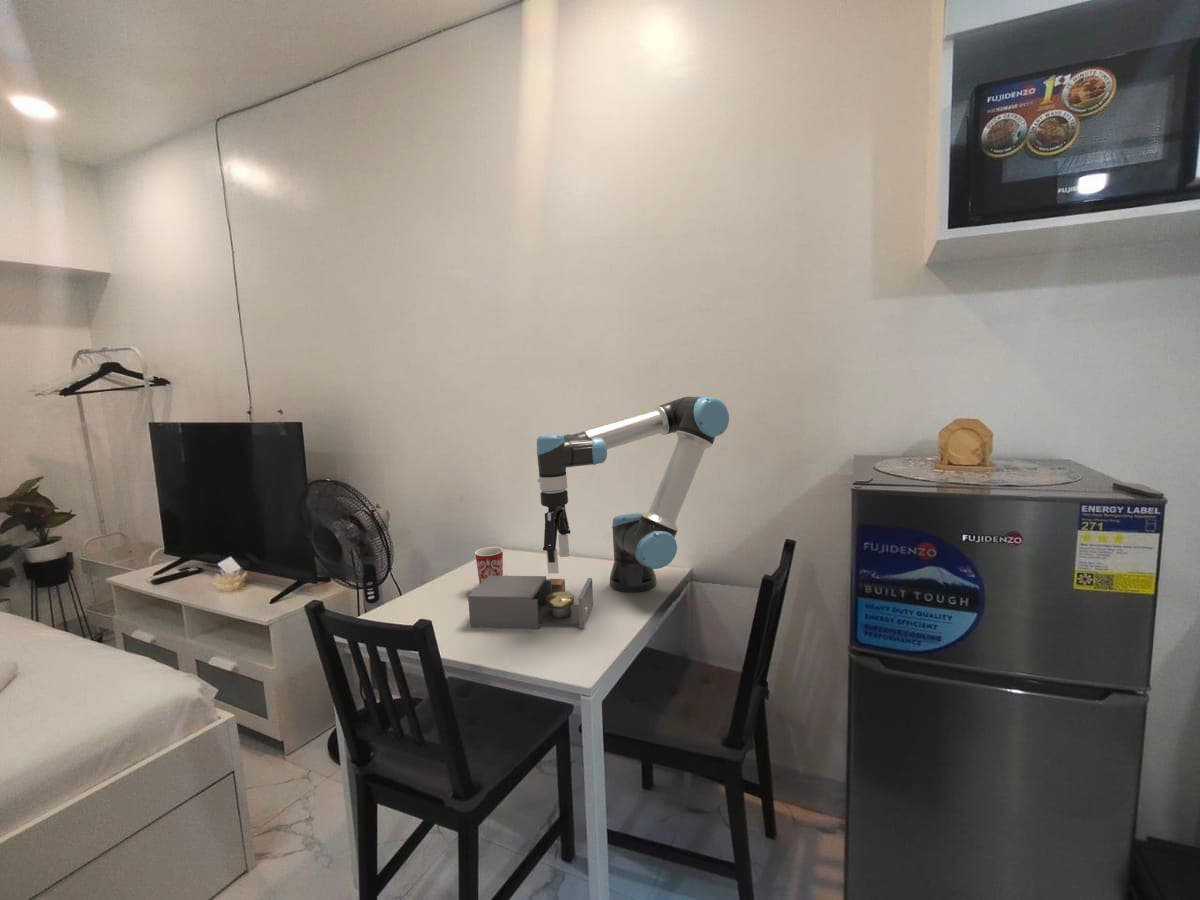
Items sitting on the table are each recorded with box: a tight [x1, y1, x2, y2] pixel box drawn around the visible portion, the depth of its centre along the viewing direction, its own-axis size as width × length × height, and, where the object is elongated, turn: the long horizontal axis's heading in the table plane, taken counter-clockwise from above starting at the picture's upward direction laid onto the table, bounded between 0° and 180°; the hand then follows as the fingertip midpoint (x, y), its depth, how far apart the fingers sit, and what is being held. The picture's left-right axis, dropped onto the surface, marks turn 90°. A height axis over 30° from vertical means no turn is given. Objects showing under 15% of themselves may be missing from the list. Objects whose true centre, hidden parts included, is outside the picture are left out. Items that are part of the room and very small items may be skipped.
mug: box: [474, 546, 504, 585], centre depth 175 cm, size 13×9×14 cm
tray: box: [538, 577, 594, 630], centre depth 152 cm, size 20×15×8 cm
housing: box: [467, 575, 552, 630], centre depth 154 cm, size 20×16×9 cm
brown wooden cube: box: [550, 578, 566, 593], centre depth 166 cm, size 5×5×5 cm
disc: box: [546, 591, 575, 609], centre depth 151 cm, size 8×8×2 cm
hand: (559, 564), depth 150 cm, fingers open, 13 cm apart
